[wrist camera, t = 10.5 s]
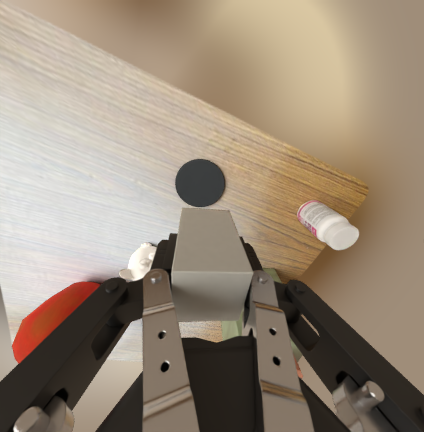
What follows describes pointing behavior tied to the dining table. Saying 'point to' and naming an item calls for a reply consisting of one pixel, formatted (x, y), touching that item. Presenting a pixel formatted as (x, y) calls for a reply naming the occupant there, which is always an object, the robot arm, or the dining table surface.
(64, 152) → the dining table surface
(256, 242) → the dining table surface
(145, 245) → the figurine
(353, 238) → the pill bottle
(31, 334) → the apple
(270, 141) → the dining table surface
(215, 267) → the block
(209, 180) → the coaster
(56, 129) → the dining table surface
